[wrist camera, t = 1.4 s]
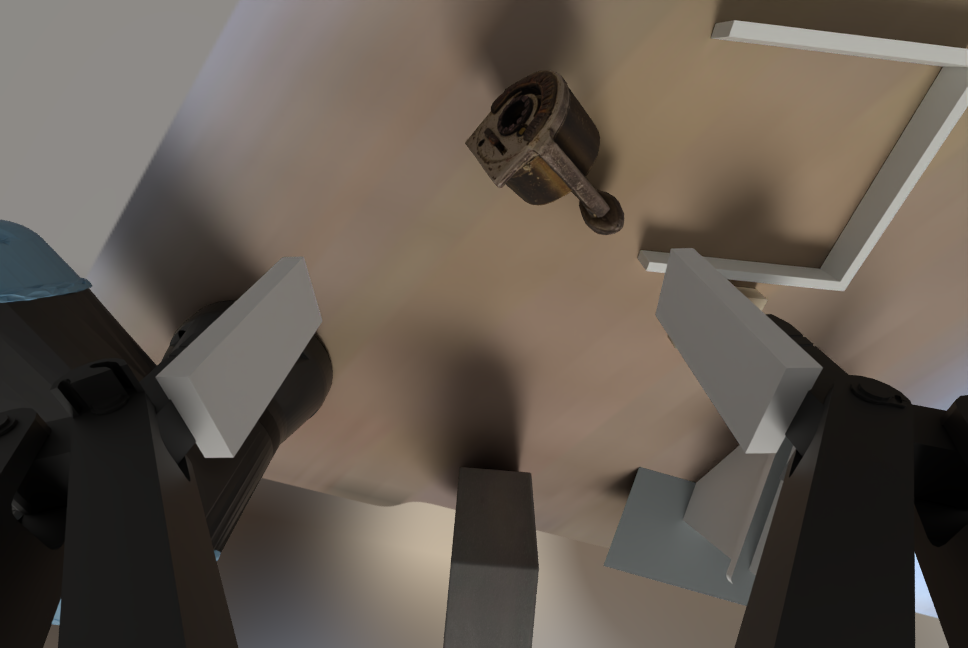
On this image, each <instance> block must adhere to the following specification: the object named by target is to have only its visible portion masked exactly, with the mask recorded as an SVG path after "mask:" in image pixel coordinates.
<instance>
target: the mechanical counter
mask: <svg viewBox="0 0 968 648" xmlns="http://www.w3.org/2000/svg"><path fill="white" fill-rule="evenodd" d="M465 144H466V145H467V146H468V148H469V149H470V151H471V152H472V153H473V154H474V156H475V157H476V158H477V160H478V161H479V163H480V164H481V166H482V167H483V169H484V170H485V172H486V173H487V174H488V176H489V177H490V178H491V180H492V181H493V182H494V183H495V184H496V185H497V186H498V187H499V188H502V187H503V186H504V185H505V184H506V185H507V186H508V187H510V188H511V189H512V190H513V191H514V192H515V193H516V194H517V195H518V196H520V197H521V198H522V199H523V200H524V201H525V202H527V203H529V204H532V205H545V204H548V203H551V202H554V201H555V200H557V199H559V198H561V197H563V196H565V195H566V194H568V193H569V192H572V193H573V194H574V195H575V196H576V197H578V199H579V200H580V202H579V207H580V210H581V214H582V217H583V219H584V221H585V223H586V224H587V225H588V227H590V228H591V229H592V230H593V231H594V232H596V233H598V234H602V235H609V234H615V233H616V232H618V231H620V230H621V229H622V228H623V225H624V212H623V210H622V208H621V206H620V203H619V201H618V200H617V199H616V198H615V197H614V196H612V195H610V194H609V193H607V192H603V191H600V190H596V189H595V188H594V187H593V186H592V185H591V183H590V182H589V181H588V179H587V178H586V175H587V174H588V172H589V171H590V169H591V167H592V166H593V164H594V162H595V160H596V157H597V155H598V151H599V146H600V136H599V132H598V130H597V128H596V126H595V124H594V123H593V121H592V120H591V118H590V117H589V116H588V114H587V113H586V111H585V110H584V108H583V107H582V106H581V104H580V103H579V101H578V100H577V99H576V97H575V96H574V94H573V93H572V92H571V90H570V89H569V87H568V85H567V83H566V81H565V80H564V79H563V77H562V76H561V75H560V74H558V73H557V72H554V71H550V70H544V71H538V72H535V73H533V74H531V75H529V76H527V77H525V78H523V79H522V80H520V81H518V82H516V83H515V84H513V85H511V86H510V87H508V88H507V89H505V91H504V93H503V94H502V95H500V96H499V97H498V98H497V99H496V100H495V101H494V102H493V104H492V106H491V112H490V113H489V114H488V116H487V117H486V118H485V119H484V120H483V122H482V123H481V124H480V125H479V126H478V128H477V129H476V130H475V131H474V133H473V134H472V135H471V136H470V137H469V139H468V140H467V141H466V143H465Z"/></svg>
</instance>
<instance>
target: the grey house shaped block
mask: <svg viewBox="0 0 968 648" xmlns="http://www.w3.org/2000/svg"><path fill="white" fill-rule="evenodd" d="M538 571H539V564H538V551H537V539H536V527H535V514H534V502H533V490H532V477H531V473H527V472H515V471H503V470H491V469H479V468H467V467H460V470H459V481H458V492H457V503H456V513H455V524H454V536H453V545H452V556H451V569H450V579H449V590H448V600H447V611H446V622H445V632H444V645H443V648H532V637H533V626H534V615H535V605H536V594H537V583H538Z"/></svg>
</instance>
